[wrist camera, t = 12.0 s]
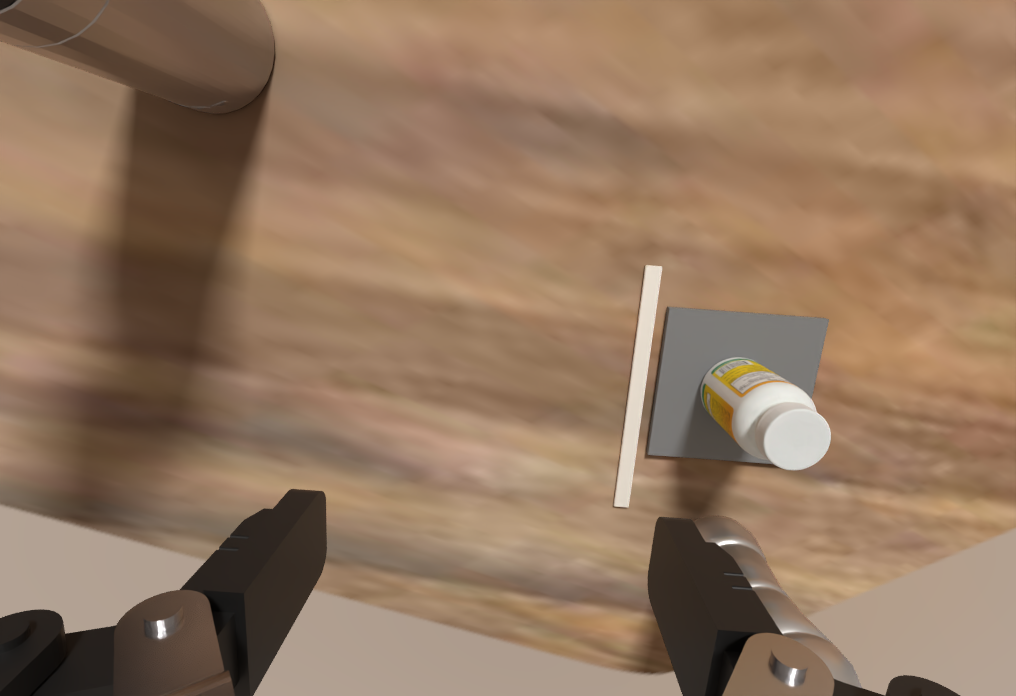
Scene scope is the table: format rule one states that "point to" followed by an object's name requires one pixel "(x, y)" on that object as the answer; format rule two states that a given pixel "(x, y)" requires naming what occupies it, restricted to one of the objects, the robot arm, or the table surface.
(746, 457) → the mat
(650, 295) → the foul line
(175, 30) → the robot arm
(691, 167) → the table surface
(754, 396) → the supplement bottle
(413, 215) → the table surface
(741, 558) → the plastic bottle
